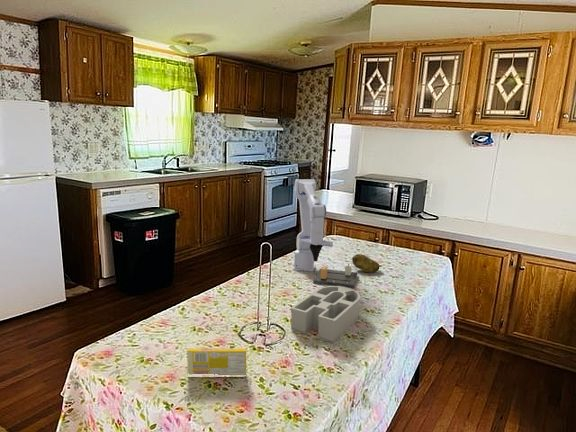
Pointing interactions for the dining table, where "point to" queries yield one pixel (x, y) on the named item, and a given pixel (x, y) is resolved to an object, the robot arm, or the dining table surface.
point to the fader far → (348, 269)
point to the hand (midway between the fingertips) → (315, 260)
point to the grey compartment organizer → (326, 312)
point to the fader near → (323, 273)
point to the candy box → (217, 361)
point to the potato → (365, 263)
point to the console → (336, 278)
